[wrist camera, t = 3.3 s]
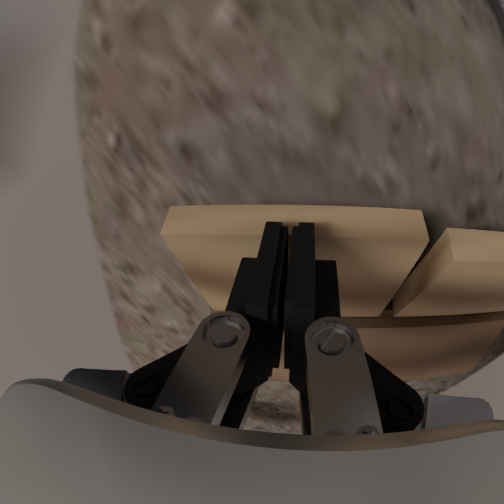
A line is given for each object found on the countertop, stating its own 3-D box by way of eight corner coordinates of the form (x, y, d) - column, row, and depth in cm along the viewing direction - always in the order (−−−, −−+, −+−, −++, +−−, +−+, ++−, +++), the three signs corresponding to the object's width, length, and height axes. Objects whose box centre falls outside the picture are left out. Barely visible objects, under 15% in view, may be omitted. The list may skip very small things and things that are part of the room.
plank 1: (170, 206, 11) (160, 234, 11) (421, 210, 10) (429, 240, 9) (217, 289, 18) (213, 310, 17) (377, 294, 16) (378, 316, 16)
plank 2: (447, 227, 9) (454, 260, 8) (573, 239, 7) (580, 263, 7) (392, 294, 16) (393, 317, 15) (506, 291, 14) (508, 310, 14)
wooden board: (211, 296, 19) (205, 312, 17) (506, 298, 15) (513, 311, 13) (228, 361, 23) (225, 375, 22) (467, 359, 19) (471, 371, 18)
